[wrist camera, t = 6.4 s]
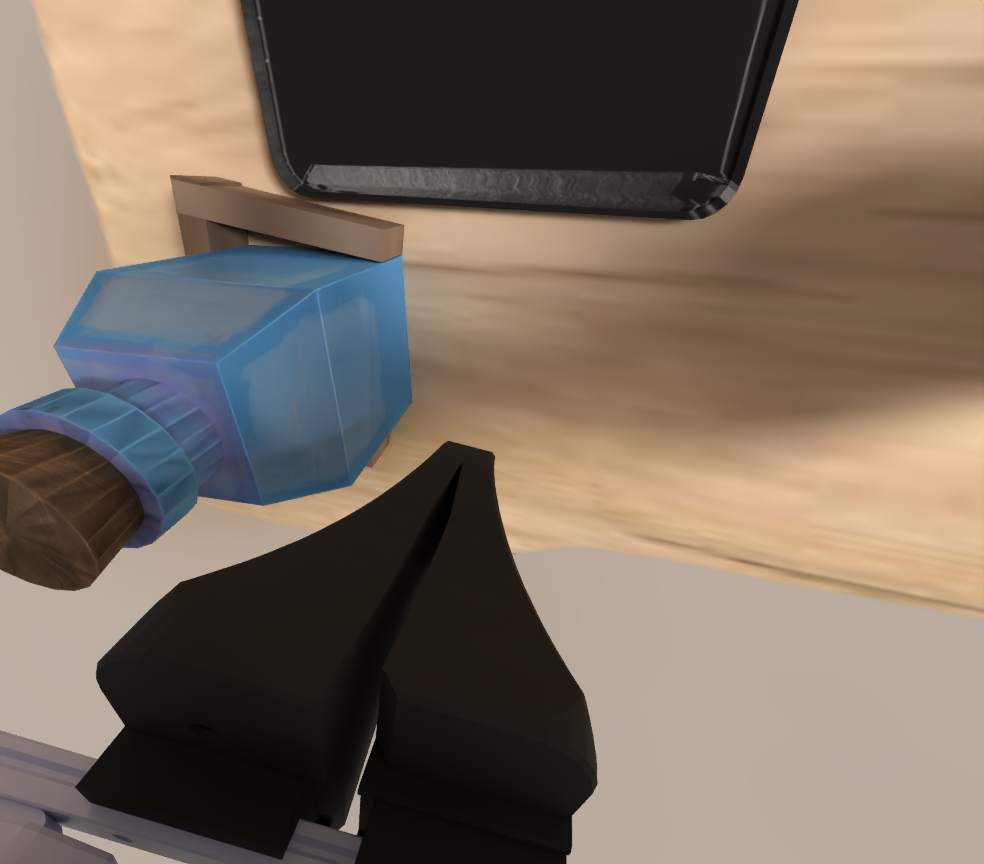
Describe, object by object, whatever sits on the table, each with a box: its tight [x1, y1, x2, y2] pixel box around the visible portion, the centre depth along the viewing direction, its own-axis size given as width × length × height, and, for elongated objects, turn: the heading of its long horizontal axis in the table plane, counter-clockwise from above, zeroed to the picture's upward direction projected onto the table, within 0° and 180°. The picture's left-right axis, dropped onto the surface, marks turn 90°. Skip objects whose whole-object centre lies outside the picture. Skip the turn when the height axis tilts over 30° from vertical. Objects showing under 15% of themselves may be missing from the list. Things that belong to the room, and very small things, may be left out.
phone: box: [241, 0, 799, 220], centre depth 12 cm, size 8×1×15 cm
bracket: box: [170, 175, 404, 467], centre depth 16 cm, size 7×10×2 cm
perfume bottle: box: [0, 245, 412, 591], centre depth 12 cm, size 6×6×12 cm
